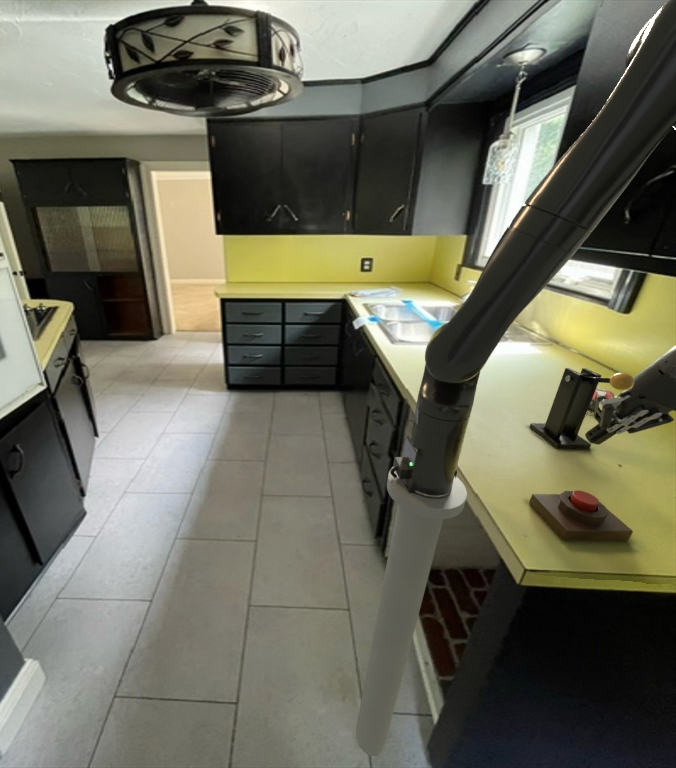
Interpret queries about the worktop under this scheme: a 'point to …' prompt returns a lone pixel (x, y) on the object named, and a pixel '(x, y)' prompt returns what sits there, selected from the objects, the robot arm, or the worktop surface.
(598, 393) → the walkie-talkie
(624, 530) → the button base
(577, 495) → the release button
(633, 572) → the worktop surface
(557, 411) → the bracket
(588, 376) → the latch lever
